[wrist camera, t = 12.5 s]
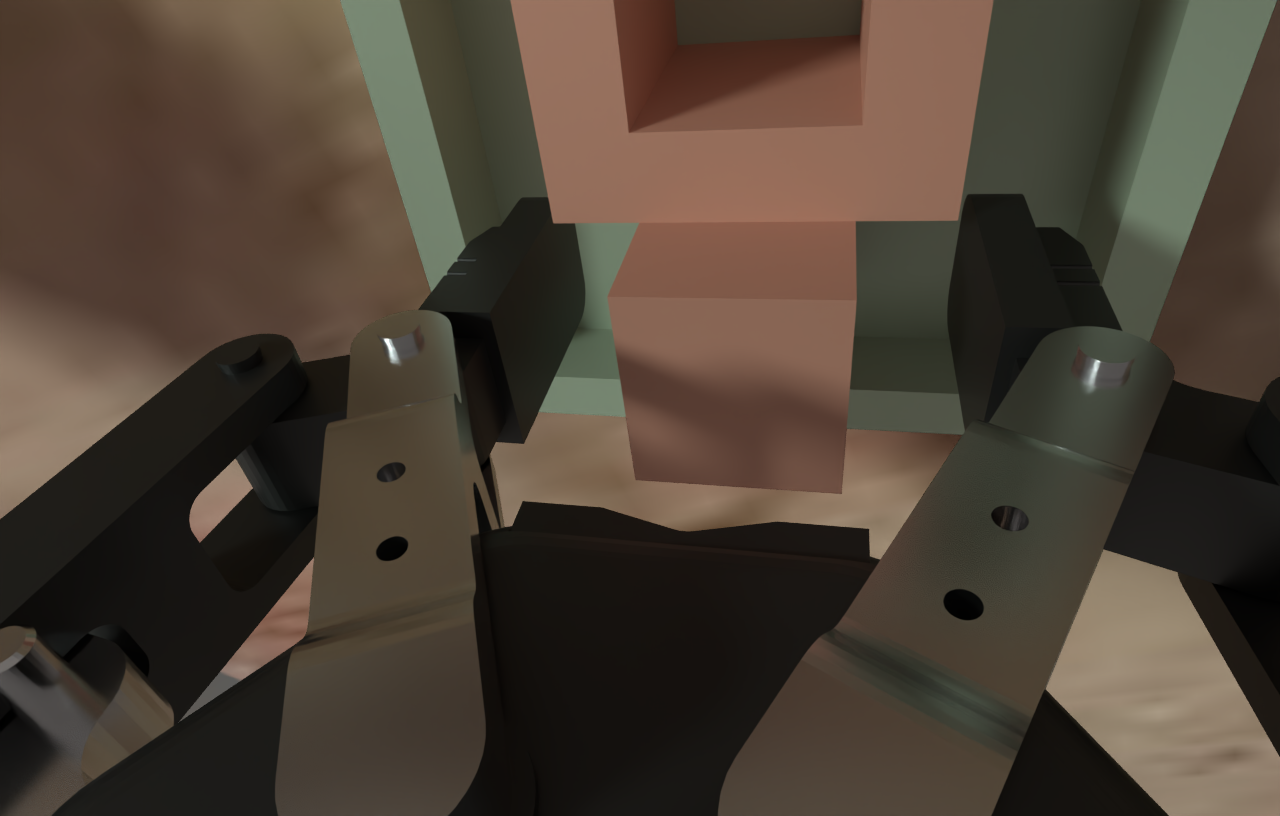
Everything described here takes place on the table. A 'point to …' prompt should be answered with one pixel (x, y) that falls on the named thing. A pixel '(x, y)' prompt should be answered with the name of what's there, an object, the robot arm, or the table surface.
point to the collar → (746, 209)
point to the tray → (885, 250)
